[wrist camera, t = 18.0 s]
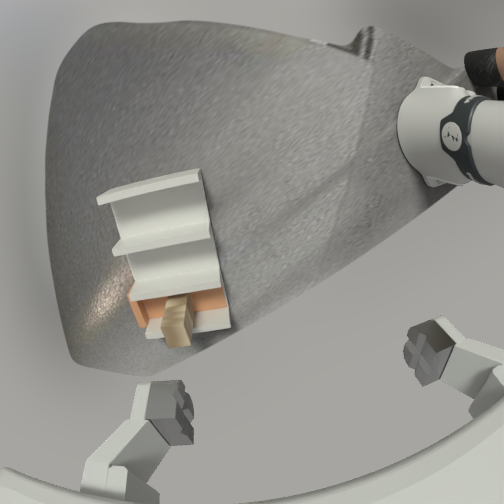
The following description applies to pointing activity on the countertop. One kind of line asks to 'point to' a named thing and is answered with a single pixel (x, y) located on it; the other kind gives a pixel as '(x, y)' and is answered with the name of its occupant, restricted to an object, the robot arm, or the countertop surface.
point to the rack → (169, 249)
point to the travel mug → (486, 67)
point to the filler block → (178, 320)
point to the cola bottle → (501, 93)
